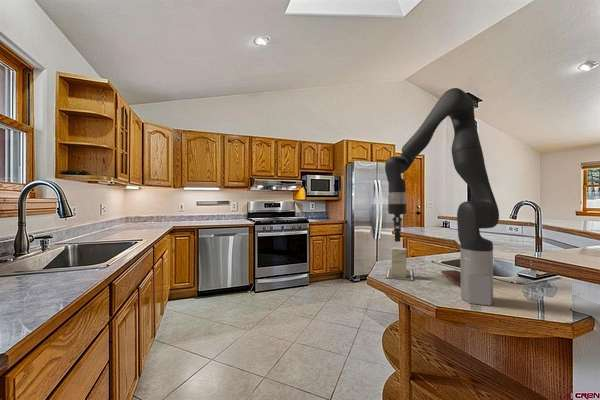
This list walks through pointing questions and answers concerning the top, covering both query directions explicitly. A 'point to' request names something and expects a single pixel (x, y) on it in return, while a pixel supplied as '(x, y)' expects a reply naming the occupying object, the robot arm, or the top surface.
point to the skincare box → (398, 262)
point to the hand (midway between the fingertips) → (397, 240)
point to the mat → (408, 277)
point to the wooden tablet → (453, 276)
